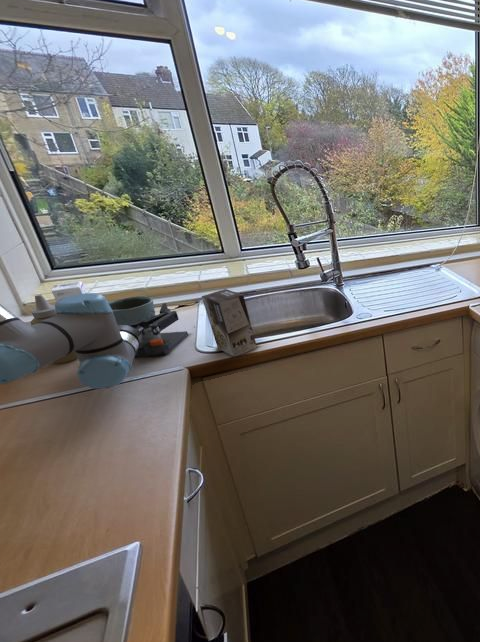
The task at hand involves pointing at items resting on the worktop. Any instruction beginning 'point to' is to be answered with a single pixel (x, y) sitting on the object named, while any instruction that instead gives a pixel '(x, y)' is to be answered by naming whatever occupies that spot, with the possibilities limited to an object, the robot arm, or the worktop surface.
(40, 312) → the squeeze bottle
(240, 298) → the coffee box
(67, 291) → the syrup box
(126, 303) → the grey-green plant pot
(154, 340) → the tare button
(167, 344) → the scale
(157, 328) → the robot arm
